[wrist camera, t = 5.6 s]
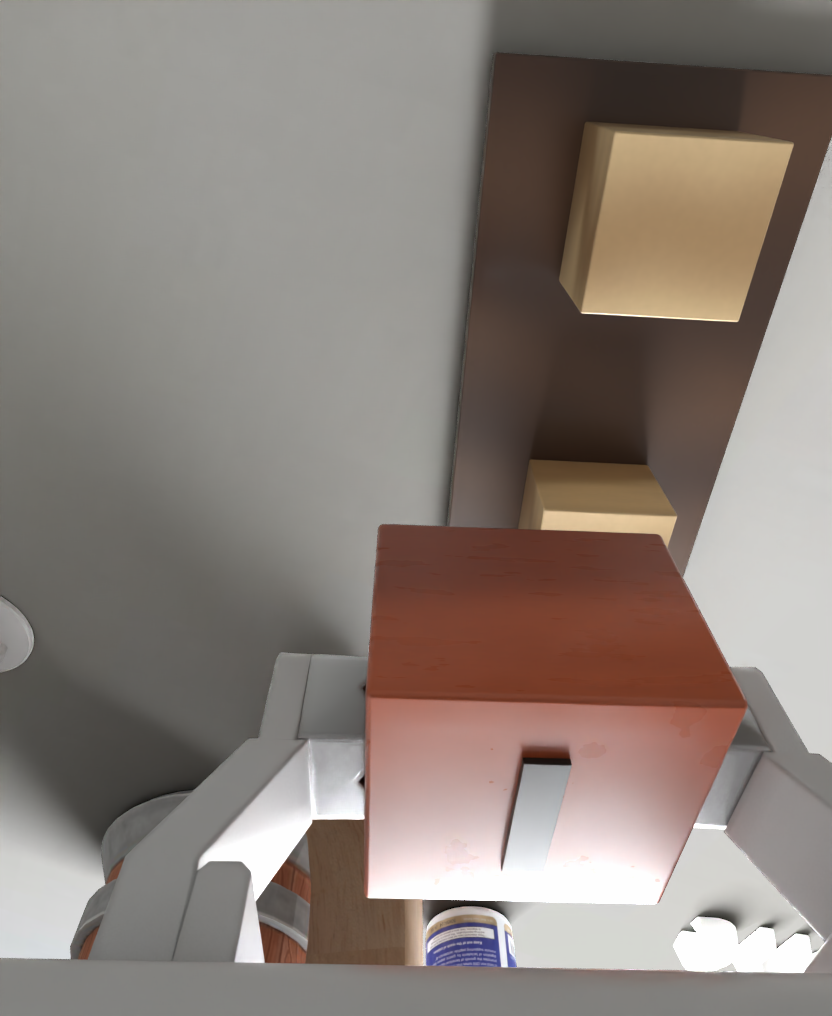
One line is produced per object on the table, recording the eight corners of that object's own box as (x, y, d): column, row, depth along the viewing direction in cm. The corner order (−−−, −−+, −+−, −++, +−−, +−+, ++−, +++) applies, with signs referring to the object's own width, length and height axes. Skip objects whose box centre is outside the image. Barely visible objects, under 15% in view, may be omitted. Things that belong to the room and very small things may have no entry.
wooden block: (304, 716, 34) (217, 1227, 19) (392, 705, 34) (374, 1218, 19) (345, 821, 39) (301, 1296, 24) (422, 813, 39) (428, 1291, 24)
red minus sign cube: (378, 521, 11) (363, 700, 8) (661, 531, 11) (756, 712, 8) (374, 714, 13) (362, 907, 10) (605, 720, 13) (661, 913, 10)
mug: (152, 752, 36) (11, 1124, 23) (460, 859, 41) (481, 1208, 29) (74, 878, 42) (-70, 1223, 30) (350, 956, 48) (327, 1276, 35)
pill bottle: (408, 929, 46) (406, 1122, 37) (462, 892, 43) (474, 1090, 35) (473, 954, 48) (487, 1144, 39) (529, 920, 45) (556, 1115, 37)
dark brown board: (492, 52, 19) (510, 49, 16) (837, 76, 20) (932, 77, 16) (433, 661, 32) (435, 736, 29) (642, 670, 33) (671, 744, 29)
